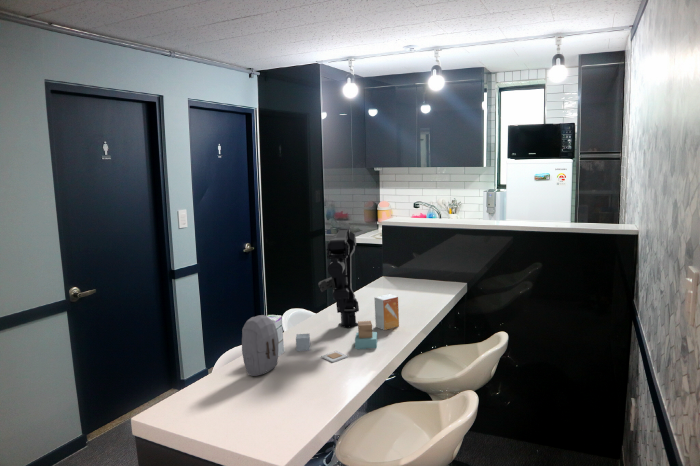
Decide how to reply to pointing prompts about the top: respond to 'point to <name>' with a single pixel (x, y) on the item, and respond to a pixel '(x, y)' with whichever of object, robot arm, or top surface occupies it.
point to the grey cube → (303, 342)
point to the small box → (386, 311)
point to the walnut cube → (365, 329)
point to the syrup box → (278, 331)
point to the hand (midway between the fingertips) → (341, 309)
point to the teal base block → (366, 341)
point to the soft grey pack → (259, 345)
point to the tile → (334, 356)
